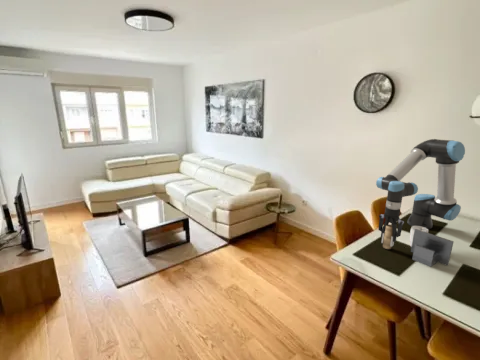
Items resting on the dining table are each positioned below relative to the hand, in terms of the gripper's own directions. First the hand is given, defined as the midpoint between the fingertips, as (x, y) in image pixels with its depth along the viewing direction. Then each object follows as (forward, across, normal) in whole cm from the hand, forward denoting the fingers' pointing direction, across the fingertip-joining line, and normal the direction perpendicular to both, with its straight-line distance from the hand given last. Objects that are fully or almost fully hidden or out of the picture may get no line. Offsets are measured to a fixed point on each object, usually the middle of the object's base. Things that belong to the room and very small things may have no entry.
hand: (387, 244), depth 157 cm
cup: (+3, +9, +17) cm, 20 cm away
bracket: (+3, +19, +4) cm, 20 cm away
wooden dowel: (+2, 0, 0) cm, 2 cm away
